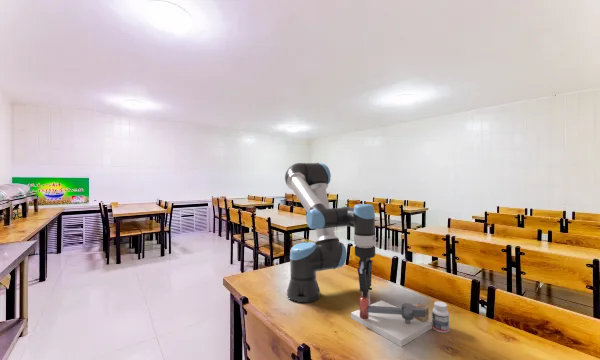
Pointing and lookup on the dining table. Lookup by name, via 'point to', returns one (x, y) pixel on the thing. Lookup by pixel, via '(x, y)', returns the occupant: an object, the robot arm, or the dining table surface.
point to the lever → (390, 310)
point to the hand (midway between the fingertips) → (366, 307)
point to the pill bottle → (440, 317)
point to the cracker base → (393, 325)
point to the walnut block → (425, 313)
